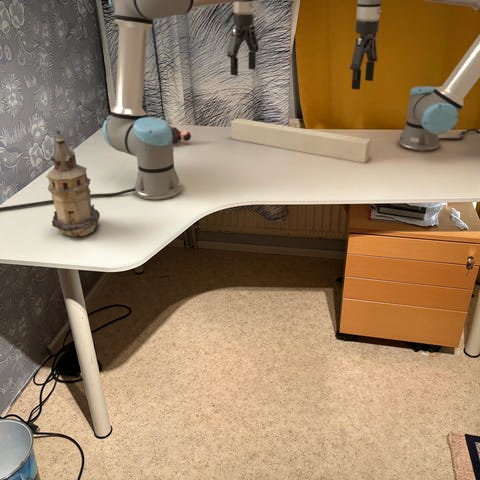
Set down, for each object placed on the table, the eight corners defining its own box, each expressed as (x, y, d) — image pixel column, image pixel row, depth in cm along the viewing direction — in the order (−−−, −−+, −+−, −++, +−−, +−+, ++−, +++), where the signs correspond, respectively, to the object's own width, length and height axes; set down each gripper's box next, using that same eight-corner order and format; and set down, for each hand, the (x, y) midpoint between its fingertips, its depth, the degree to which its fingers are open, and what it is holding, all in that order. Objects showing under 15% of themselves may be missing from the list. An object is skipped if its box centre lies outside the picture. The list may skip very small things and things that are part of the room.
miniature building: (80, 214, 164) (63, 117, 149) (111, 225, 157) (96, 125, 142) (44, 231, 154) (22, 130, 140) (75, 244, 147) (55, 139, 133)
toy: (131, 118, 232) (198, 118, 226) (134, 133, 235) (199, 133, 229) (107, 138, 210) (180, 138, 204) (110, 153, 213) (182, 154, 207)
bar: (231, 138, 224) (230, 121, 220) (237, 135, 228) (237, 118, 224) (364, 162, 198) (366, 143, 194) (369, 158, 202) (371, 139, 198)
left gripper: (234, 17, 189) (234, 78, 199) (268, 11, 207) (266, 67, 218) (216, 16, 192) (217, 76, 202) (251, 10, 211) (250, 65, 221)
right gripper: (366, 25, 167) (360, 94, 178) (390, 15, 186) (384, 78, 196) (343, 24, 171) (339, 91, 181) (369, 15, 189) (364, 76, 199)
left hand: (243, 72), depth 210 cm, fingers open, 13 cm apart
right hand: (362, 84), depth 189 cm, fingers open, 13 cm apart
